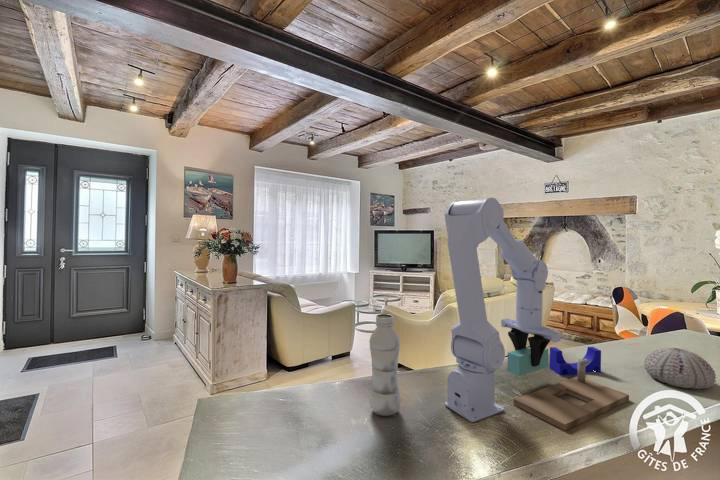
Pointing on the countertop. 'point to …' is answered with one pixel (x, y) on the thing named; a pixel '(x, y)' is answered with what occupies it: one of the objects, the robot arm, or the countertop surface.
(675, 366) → the sea urchin shell
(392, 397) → the plastic bottle
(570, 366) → the blue concave arch block
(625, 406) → the countertop surface
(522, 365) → the teal rectangular block
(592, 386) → the slotted wooden board
